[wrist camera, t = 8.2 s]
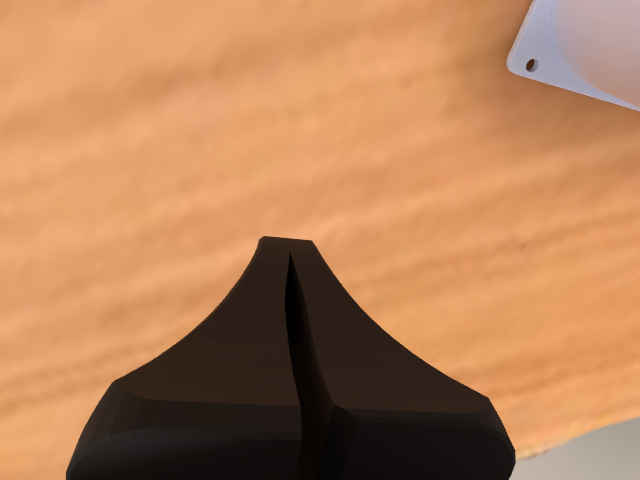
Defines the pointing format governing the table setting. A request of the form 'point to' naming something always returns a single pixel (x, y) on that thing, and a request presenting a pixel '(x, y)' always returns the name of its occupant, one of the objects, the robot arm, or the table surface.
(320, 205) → the table surface
